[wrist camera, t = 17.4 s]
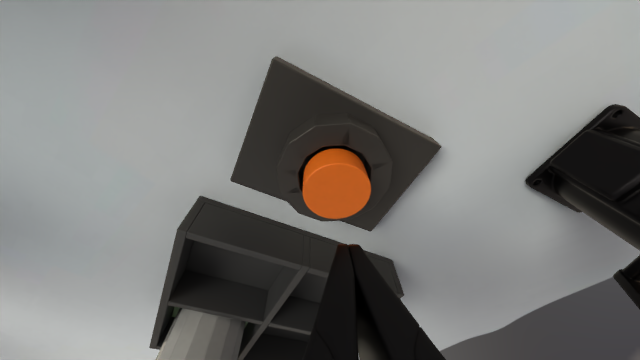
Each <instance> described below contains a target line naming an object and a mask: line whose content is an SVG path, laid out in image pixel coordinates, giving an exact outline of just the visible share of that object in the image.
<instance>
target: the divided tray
mask: <svg viewBox="0 0 640 360" xmlns="http://www.w3.org/2000/svg"><path fill="white" fill-rule="evenodd" d="M338 244H343V243H340V242H337V241H334V240H331V239H328V238H324V237H321V236H318V235H315V234H312V233H309V232H306V231H303V230H300V229H297V228H294V227H291V226H288V225H285V224H282V223H279V222H276V221H273V220H270V219H267V218H264V217H261V216H258V215H255V214H252V213H249V212H246V211H243V210H240V209H237V208H234V207H231V206H228V205H225V204H222V203H219V202H216V201H213V200H210V199H207V198H204V197H201V196H199V198H198V199H197V201H196V202H195V204H194V205H193V207H192V208H191V210H190V211H189V213H188V214H187V216H186V217H185V219H184V220H183V221H182V223H181V224H180V226H179V227H178V229H177V233H176V237H175V241H174V245H173V250H172V254H171V258H170V262H169V267H168V271H167V275H166V279H165V284H164V288H163V292H162V296H161V301H160V305H159V309H158V313H157V318H156V322H155V326H154V330H153V335H152V339H151V343H150V348H153V349H159V350H160V349H161V347H162V345H163V343H164V340H165V338H166V336H167V334H168V332H169V330H170V328H171V326H172V324H173V321H174V319H175V317H176V315H177V313H178V311H179V309H180V308H183V309H188V310H193V311H198V312H203V313H207V314H212V315H217V316H222V317H227V318H231V319H236V320H241V321H246V323H245V328H244V332H243V337H242V341H241V345H240V350H239V354H238V359H237V360H302V359H303V356H304V353H305V350H306V347H307V344H308V341H309V337H310V334H311V331H312V328H313V325H314V321H315V318H316V315H317V311H318V308H319V305H320V301H321V298H322V295H323V291H324V288H325V285H326V281H327V278H328V275H329V271H330V268H331V265H332V261H333V258H334V255H335V251H336V248H337V245H338ZM363 251H364V250H363ZM364 252H365V253H366V255H367V256H368V257H369V259H370V260H371V261H372V263H373V264H374V265H375V267H376V268H377V269H378V271H379V272H380V273H381V275H382V276H383V277H384V279H385V280H386V281H387V283H388V284H389V285H390V287H391V288H392V289H393V291H394V292H395V293H396V295H397V296H398V297H399V299H400V298H401V297H403V296H404V293H403V290H402V287H401V284H400V282H399V279H398V276H397V273H396V270H395V267H394V265H393V261H392V260H391V259H388V258H385V257H382V256H379V255H376V254H373V253H370V252H367V251H364Z"/></svg>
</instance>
